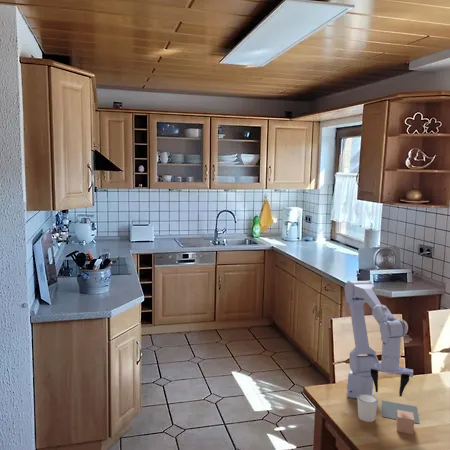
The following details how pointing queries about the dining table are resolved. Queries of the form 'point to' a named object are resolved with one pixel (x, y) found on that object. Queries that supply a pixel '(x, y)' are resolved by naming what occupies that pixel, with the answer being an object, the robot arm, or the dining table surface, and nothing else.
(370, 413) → the white cup
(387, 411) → the slate mat
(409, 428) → the terracotta block
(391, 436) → the dining table surface
